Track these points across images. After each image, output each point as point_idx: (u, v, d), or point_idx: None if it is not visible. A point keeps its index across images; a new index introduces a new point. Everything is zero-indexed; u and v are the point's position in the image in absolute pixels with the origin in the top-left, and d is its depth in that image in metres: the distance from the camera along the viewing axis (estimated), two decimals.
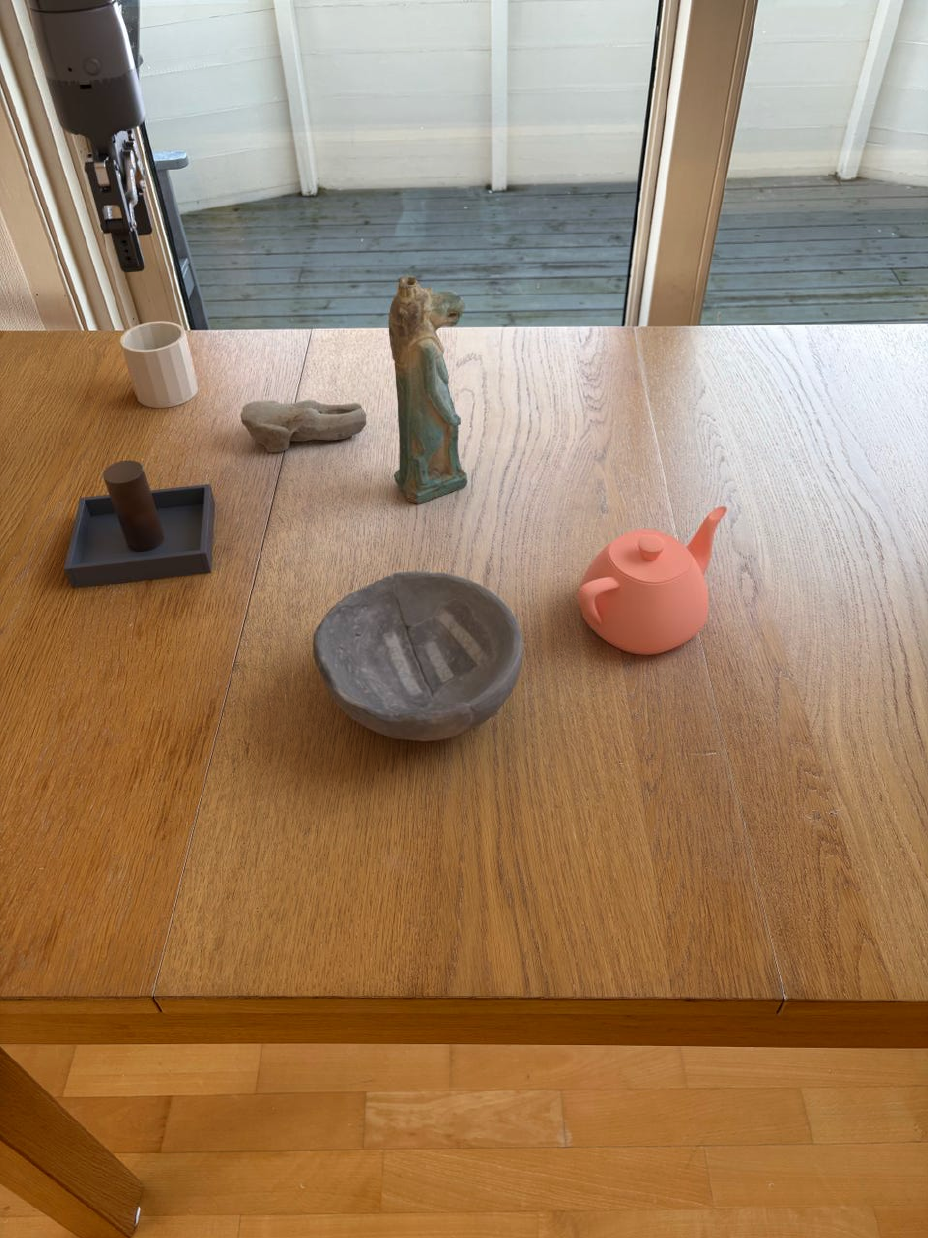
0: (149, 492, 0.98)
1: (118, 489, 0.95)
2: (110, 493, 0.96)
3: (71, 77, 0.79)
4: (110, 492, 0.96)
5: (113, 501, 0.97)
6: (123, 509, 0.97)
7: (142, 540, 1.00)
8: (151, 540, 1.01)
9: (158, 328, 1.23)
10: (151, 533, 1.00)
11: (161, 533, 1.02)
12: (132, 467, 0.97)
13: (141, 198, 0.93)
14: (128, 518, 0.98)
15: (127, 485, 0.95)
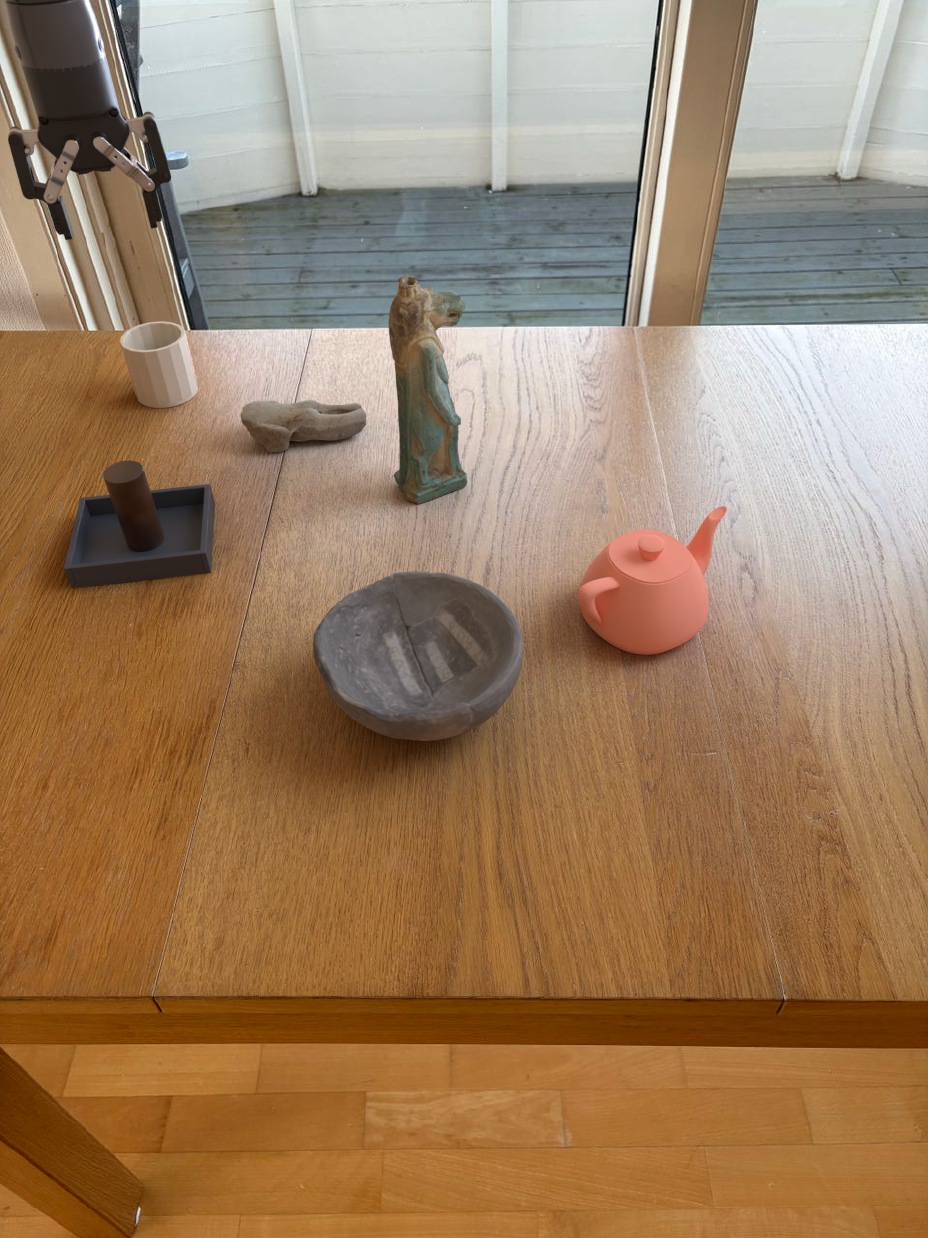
0: (149, 492, 0.98)
1: (118, 489, 0.95)
2: (110, 493, 0.96)
3: None
4: (110, 492, 0.96)
5: (113, 501, 0.97)
6: (123, 509, 0.97)
7: (142, 540, 1.00)
8: (151, 540, 1.01)
9: (158, 328, 1.23)
10: (151, 533, 1.00)
11: (161, 533, 1.02)
12: (132, 467, 0.97)
13: (142, 193, 0.96)
14: (128, 518, 0.98)
15: (127, 485, 0.95)
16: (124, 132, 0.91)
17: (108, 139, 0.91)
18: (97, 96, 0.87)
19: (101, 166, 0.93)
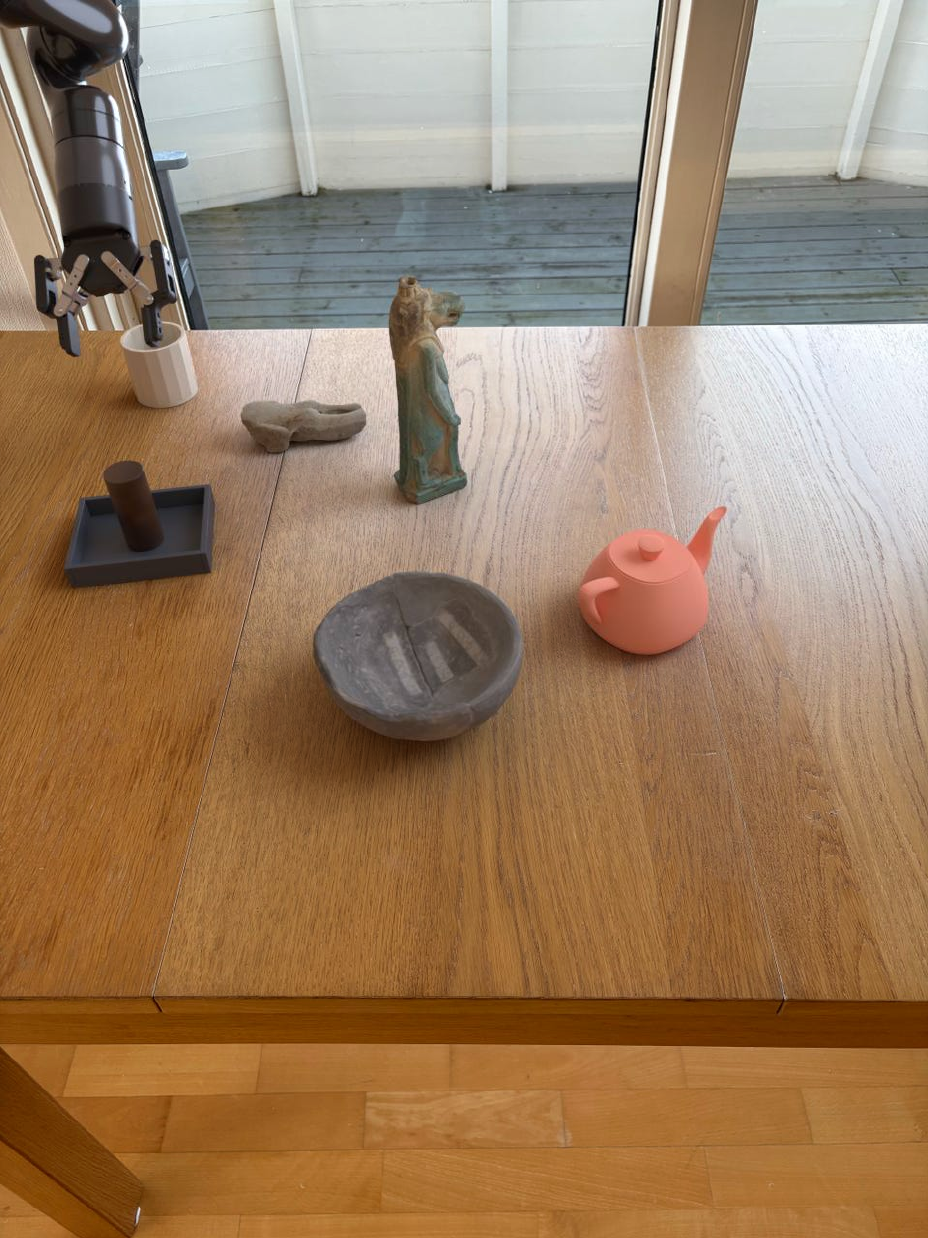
0: (149, 492, 0.98)
1: (118, 489, 0.95)
2: (110, 493, 0.96)
3: (124, 187, 0.98)
4: (110, 492, 0.96)
5: (113, 501, 0.97)
6: (123, 509, 0.97)
7: (142, 540, 1.00)
8: (151, 540, 1.01)
9: None
10: (151, 533, 1.00)
11: (161, 533, 1.02)
12: (132, 467, 0.97)
13: (76, 323, 1.01)
14: (128, 518, 0.98)
15: (127, 485, 0.95)
16: None
17: None
18: None
19: None
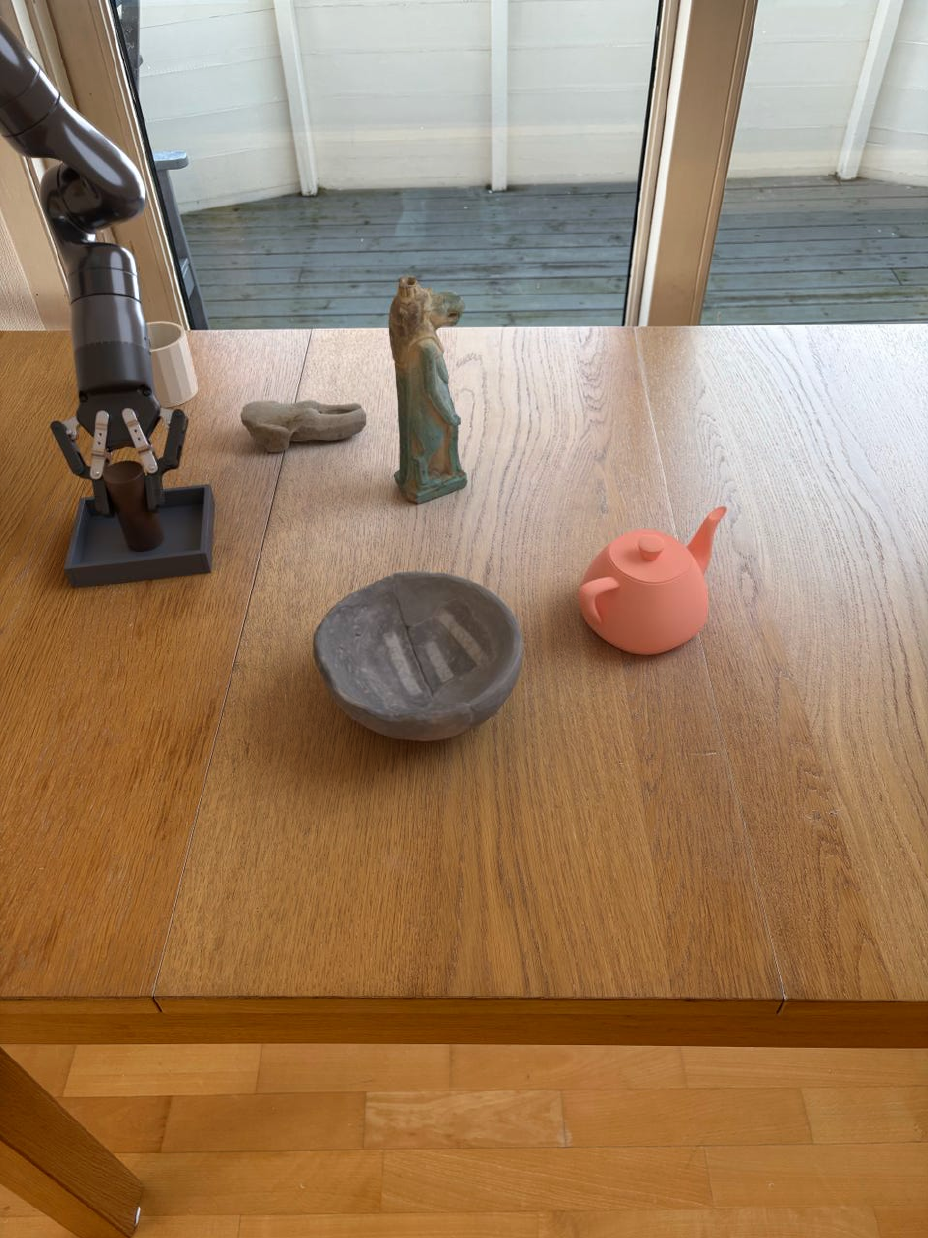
0: None
1: (118, 489, 0.95)
2: (110, 493, 0.96)
3: (145, 344, 0.97)
4: (110, 492, 0.96)
5: (113, 501, 0.97)
6: (123, 509, 0.97)
7: (142, 540, 1.00)
8: (151, 540, 1.01)
9: (158, 328, 1.23)
10: (151, 533, 1.00)
11: (161, 533, 1.02)
12: (132, 467, 0.97)
13: None
14: (128, 518, 0.98)
15: (127, 485, 0.95)
16: None
17: None
18: None
19: None
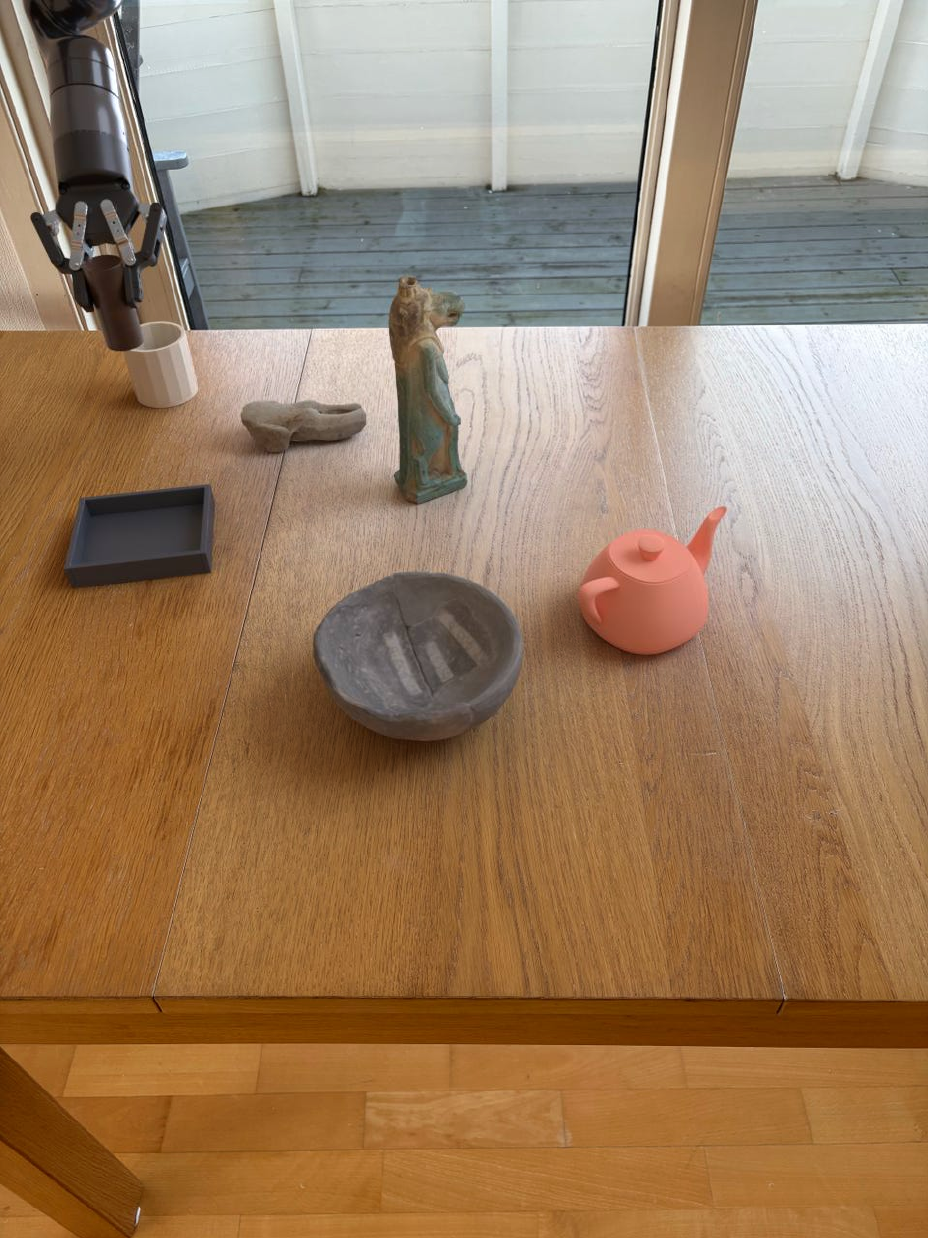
0: None
1: (96, 278, 0.97)
2: (89, 284, 0.98)
3: (123, 138, 0.99)
4: (89, 283, 0.98)
5: (92, 293, 0.99)
6: (102, 301, 0.99)
7: (121, 338, 1.02)
8: (130, 339, 1.02)
9: (158, 328, 1.23)
10: (130, 331, 1.02)
11: (140, 334, 1.03)
12: (111, 259, 0.98)
13: None
14: (107, 312, 1.00)
15: (105, 274, 0.97)
16: None
17: None
18: None
19: None
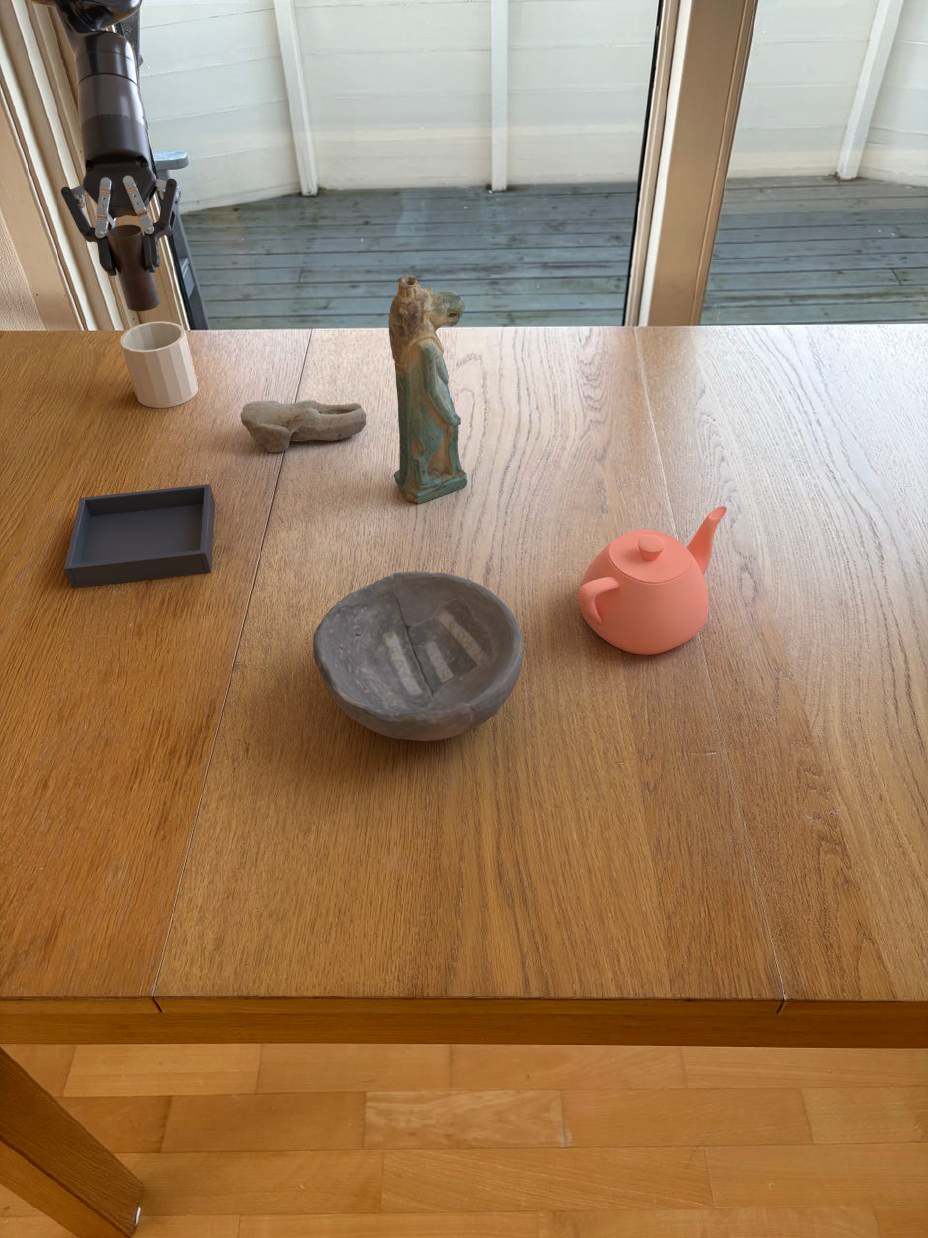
0: None
1: (119, 244, 1.10)
2: (112, 250, 1.11)
3: (143, 122, 1.12)
4: (112, 249, 1.11)
5: (115, 258, 1.12)
6: (124, 265, 1.12)
7: (140, 299, 1.15)
8: (148, 300, 1.15)
9: (158, 328, 1.23)
10: (148, 292, 1.15)
11: (157, 296, 1.16)
12: (132, 228, 1.11)
13: None
14: (128, 275, 1.13)
15: (127, 240, 1.10)
16: None
17: None
18: None
19: None
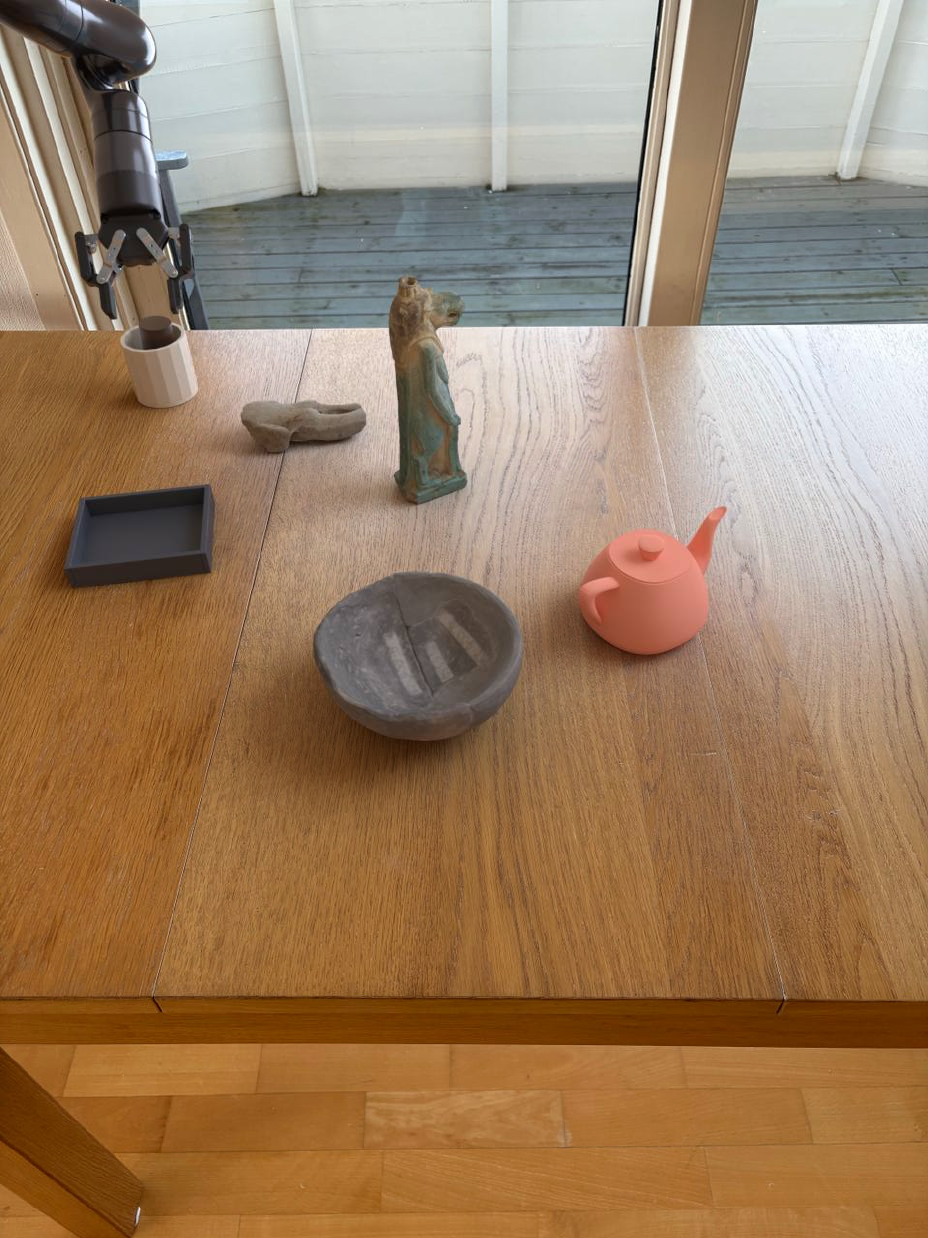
0: None
1: (151, 335, 1.18)
2: (143, 339, 1.19)
3: (156, 176, 1.16)
4: (143, 338, 1.19)
5: (144, 347, 1.20)
6: None
7: None
8: None
9: None
10: None
11: None
12: (162, 320, 1.20)
13: (113, 291, 1.17)
14: None
15: (158, 333, 1.18)
16: None
17: None
18: None
19: None
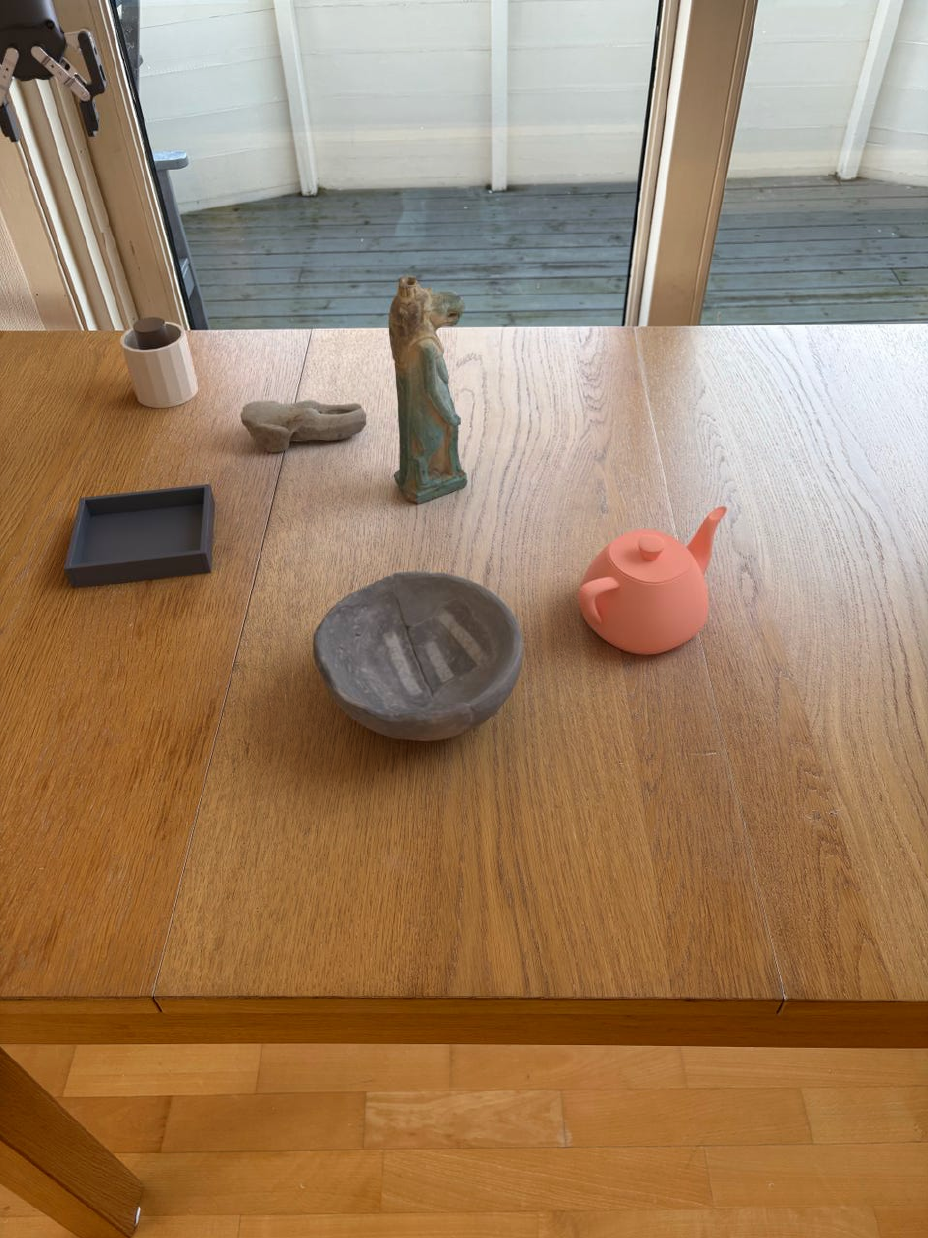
0: (169, 343, 1.21)
1: (145, 337, 1.18)
2: (138, 342, 1.19)
3: None
4: (138, 341, 1.19)
5: (141, 349, 1.20)
6: None
7: None
8: None
9: None
10: None
11: None
12: (156, 321, 1.20)
13: (9, 103, 1.06)
14: None
15: (152, 334, 1.18)
16: None
17: None
18: None
19: None
